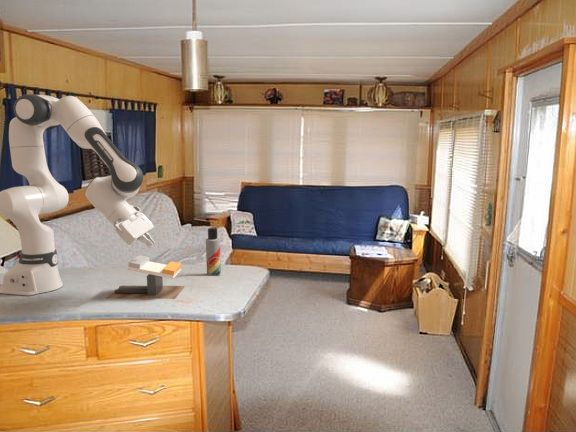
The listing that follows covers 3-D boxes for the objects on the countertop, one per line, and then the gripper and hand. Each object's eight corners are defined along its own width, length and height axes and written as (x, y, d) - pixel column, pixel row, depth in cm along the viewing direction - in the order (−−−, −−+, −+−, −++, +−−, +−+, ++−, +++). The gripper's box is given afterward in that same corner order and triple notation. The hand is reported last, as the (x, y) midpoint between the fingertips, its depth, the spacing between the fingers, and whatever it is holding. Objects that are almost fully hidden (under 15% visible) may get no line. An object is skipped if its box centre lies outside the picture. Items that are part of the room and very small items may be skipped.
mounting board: (106, 302, 169) (106, 298, 169) (121, 289, 183) (121, 285, 183) (175, 302, 168) (175, 298, 168) (185, 289, 182) (185, 285, 182)
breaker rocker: (127, 269, 169) (128, 262, 168) (137, 262, 179) (138, 254, 178) (173, 278, 169) (174, 271, 168) (180, 270, 179) (181, 263, 178)
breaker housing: (147, 295, 171) (146, 276, 170) (154, 288, 179) (153, 269, 178) (156, 295, 171) (155, 276, 170) (162, 288, 179) (162, 269, 178)
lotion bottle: (218, 277, 197) (216, 228, 194) (204, 276, 198) (203, 228, 195) (222, 273, 202) (221, 226, 199) (209, 272, 204) (208, 225, 200)
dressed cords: (114, 293, 173) (114, 290, 173) (120, 289, 178) (120, 285, 178) (148, 294, 173) (148, 290, 172) (153, 289, 178) (153, 285, 178)
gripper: (117, 216, 160) (148, 246, 161) (139, 206, 180) (166, 232, 181) (105, 229, 161) (135, 258, 162) (128, 217, 181) (155, 244, 183)
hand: (152, 244), depth 172 cm, fingers closed
